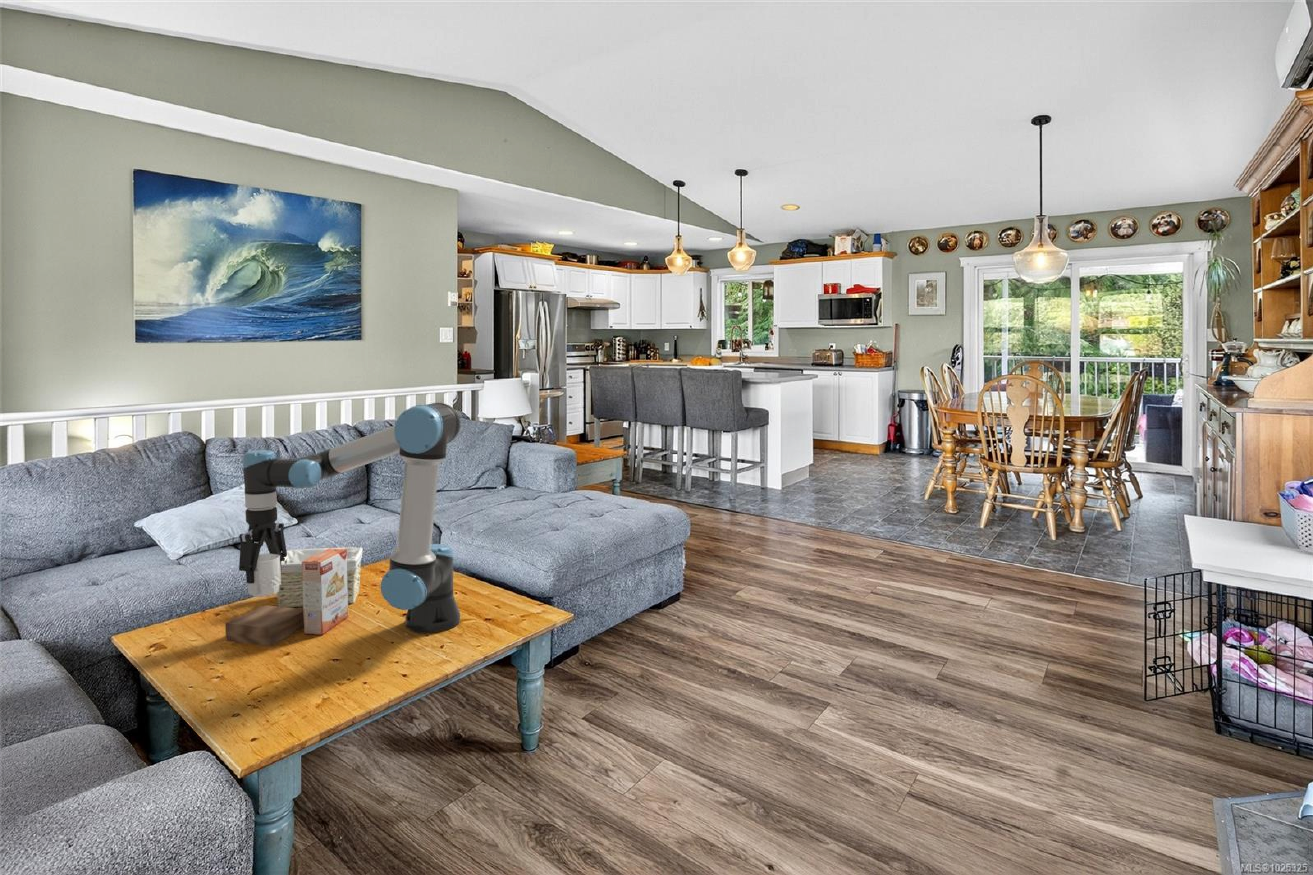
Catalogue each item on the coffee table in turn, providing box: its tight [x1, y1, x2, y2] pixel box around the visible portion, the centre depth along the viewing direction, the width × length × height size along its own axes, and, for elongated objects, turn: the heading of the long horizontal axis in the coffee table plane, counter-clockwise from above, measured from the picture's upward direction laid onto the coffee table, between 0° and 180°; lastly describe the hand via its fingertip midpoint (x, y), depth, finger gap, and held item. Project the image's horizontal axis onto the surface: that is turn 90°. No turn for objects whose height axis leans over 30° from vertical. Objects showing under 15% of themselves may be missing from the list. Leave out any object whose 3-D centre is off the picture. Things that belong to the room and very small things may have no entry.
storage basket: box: [276, 547, 364, 608], centre depth 224 cm, size 24×16×15 cm
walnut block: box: [224, 604, 304, 647], centre depth 197 cm, size 14×14×5 cm
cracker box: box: [302, 547, 349, 636], centre depth 202 cm, size 14×6×21 cm, turn 175°
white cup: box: [250, 553, 280, 598], centre depth 195 cm, size 8×8×10 cm
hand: (265, 589), depth 196 cm, fingers closed on white cup, 8 cm apart
